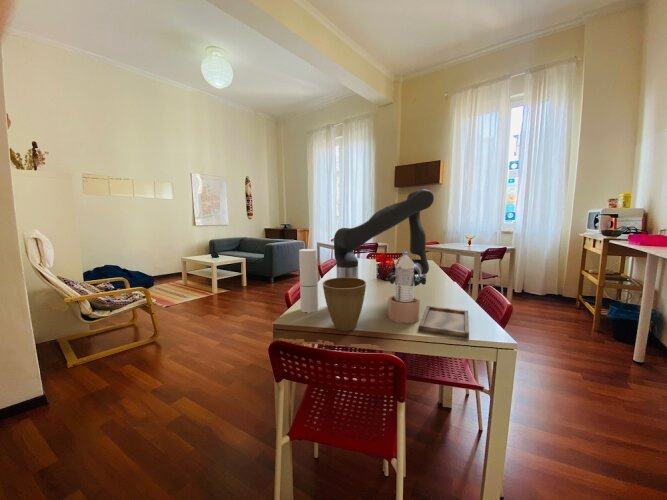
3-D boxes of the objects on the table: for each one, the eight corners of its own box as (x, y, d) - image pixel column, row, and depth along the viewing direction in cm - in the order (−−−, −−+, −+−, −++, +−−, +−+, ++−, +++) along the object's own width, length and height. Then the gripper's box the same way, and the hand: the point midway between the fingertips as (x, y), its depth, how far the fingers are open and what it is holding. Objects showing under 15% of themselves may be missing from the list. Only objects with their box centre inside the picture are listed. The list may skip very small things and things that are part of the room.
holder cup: (385, 320, 101) (385, 301, 100) (392, 310, 111) (392, 294, 110) (416, 325, 96) (416, 305, 95) (420, 314, 106) (421, 297, 105)
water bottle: (409, 322, 99) (411, 253, 95) (391, 318, 102) (392, 252, 99) (415, 316, 104) (416, 251, 101) (397, 313, 108) (398, 250, 105)
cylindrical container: (319, 307, 116) (318, 248, 113) (316, 313, 109) (315, 251, 106) (302, 306, 117) (301, 248, 114) (299, 312, 110) (297, 251, 106)
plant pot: (332, 316, 105) (332, 276, 103) (370, 321, 99) (370, 278, 97) (316, 332, 91) (315, 285, 89) (359, 339, 86) (359, 289, 84)
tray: (418, 330, 91) (418, 325, 91) (426, 309, 111) (426, 305, 111) (468, 338, 85) (469, 333, 85) (467, 315, 105) (468, 310, 104)
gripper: (394, 263, 117) (384, 270, 102) (429, 265, 111) (424, 273, 96) (393, 280, 118) (384, 290, 103) (428, 283, 112) (423, 294, 97)
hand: (403, 282), depth 100 cm, fingers open, 8 cm apart
